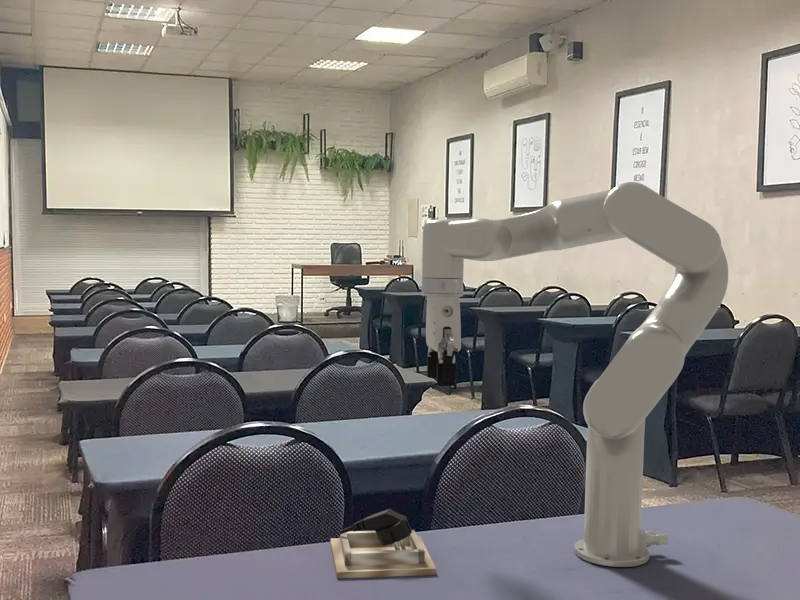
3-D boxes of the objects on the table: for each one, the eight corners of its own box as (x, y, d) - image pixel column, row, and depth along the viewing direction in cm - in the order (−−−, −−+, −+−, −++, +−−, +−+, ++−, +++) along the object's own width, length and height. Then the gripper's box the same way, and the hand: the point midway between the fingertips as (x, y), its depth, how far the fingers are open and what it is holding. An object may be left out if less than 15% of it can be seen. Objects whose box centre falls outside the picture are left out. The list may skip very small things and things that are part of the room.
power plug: (344, 522, 148) (405, 501, 145) (360, 563, 148) (421, 543, 144) (332, 532, 143) (395, 511, 139) (349, 575, 142) (413, 554, 139)
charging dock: (419, 541, 152) (420, 524, 152) (436, 574, 136) (436, 556, 136) (330, 544, 150) (330, 527, 150) (336, 578, 134) (337, 559, 134)
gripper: (473, 290, 146) (471, 389, 147) (452, 286, 163) (451, 374, 164) (430, 290, 145) (428, 389, 146) (414, 286, 162) (412, 374, 163)
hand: (440, 381), depth 155 cm, fingers open, 9 cm apart
